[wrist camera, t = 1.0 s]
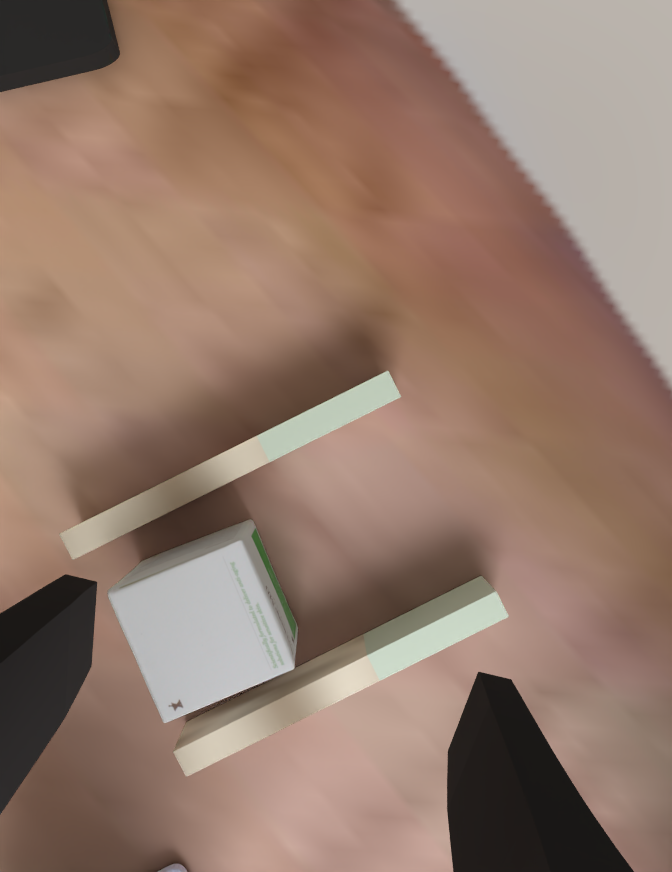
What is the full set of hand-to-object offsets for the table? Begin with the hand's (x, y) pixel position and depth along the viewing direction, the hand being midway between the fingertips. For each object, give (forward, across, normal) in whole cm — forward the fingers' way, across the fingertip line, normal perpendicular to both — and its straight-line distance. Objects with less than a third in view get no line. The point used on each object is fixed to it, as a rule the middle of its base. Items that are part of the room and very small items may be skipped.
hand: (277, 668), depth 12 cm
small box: (+14, +4, +10) cm, 18 cm away
